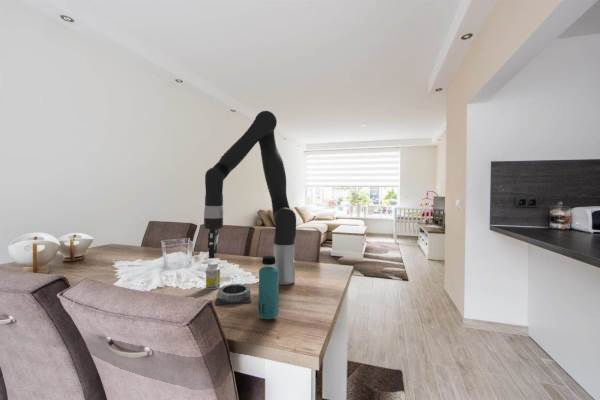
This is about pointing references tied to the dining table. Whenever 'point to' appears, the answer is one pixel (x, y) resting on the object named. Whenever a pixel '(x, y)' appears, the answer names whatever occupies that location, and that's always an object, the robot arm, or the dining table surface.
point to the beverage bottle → (268, 289)
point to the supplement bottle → (213, 276)
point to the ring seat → (233, 294)
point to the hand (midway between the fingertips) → (212, 255)
